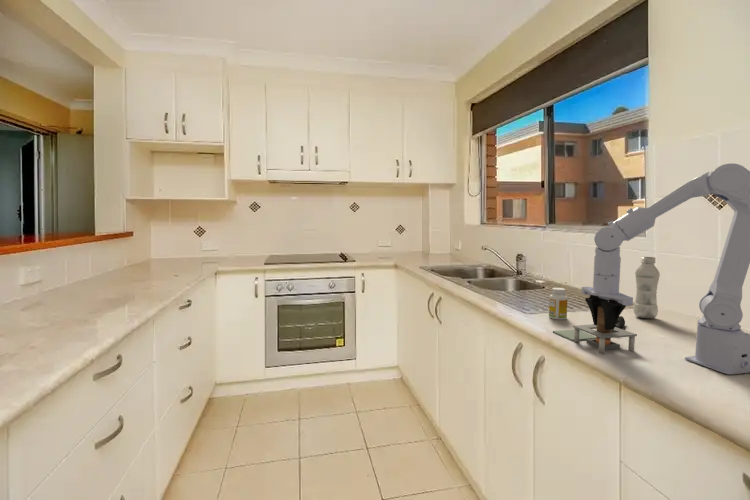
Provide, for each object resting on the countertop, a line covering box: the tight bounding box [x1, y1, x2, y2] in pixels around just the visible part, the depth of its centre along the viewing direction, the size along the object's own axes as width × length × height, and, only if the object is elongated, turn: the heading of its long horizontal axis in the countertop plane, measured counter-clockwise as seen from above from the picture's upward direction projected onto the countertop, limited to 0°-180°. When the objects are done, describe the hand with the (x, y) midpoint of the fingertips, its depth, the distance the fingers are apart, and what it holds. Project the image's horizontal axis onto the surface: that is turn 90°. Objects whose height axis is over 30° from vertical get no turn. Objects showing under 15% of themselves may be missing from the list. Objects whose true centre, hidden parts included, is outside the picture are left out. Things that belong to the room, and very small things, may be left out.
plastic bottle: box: [632, 256, 660, 319], centre depth 126 cm, size 6×7×20 cm
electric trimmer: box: [611, 315, 626, 333], centre depth 114 cm, size 4×16×3 cm, turn 138°
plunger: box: [595, 336, 612, 345], centre depth 100 cm, size 3×3×2 cm
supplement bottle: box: [548, 287, 568, 321], centre depth 127 cm, size 5×5×10 cm
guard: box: [572, 323, 638, 355], centre depth 100 cm, size 10×10×4 cm
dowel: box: [595, 306, 612, 340], centre depth 99 cm, size 3×3×8 cm
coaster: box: [552, 328, 596, 342], centre depth 108 cm, size 8×8×1 cm
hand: (603, 327), depth 99 cm, fingers closed on dowel, 3 cm apart
